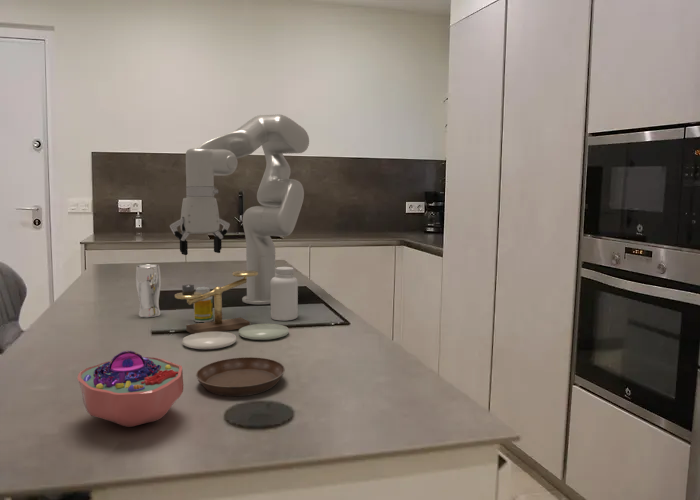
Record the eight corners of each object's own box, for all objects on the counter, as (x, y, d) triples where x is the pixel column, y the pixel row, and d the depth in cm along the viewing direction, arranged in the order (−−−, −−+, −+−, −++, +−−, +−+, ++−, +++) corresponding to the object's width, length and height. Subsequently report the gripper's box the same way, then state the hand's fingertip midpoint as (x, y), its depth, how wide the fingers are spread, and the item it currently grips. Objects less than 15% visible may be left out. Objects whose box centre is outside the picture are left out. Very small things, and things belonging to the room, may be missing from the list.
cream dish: (223, 334, 159) (223, 329, 159) (244, 345, 148) (244, 340, 148) (175, 341, 151) (175, 336, 151) (194, 354, 141) (193, 348, 141)
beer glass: (154, 318, 175) (152, 268, 173) (132, 317, 176) (130, 267, 175) (166, 313, 182) (164, 264, 180) (145, 312, 183) (143, 263, 181)
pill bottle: (302, 316, 179) (302, 267, 177) (289, 322, 172) (288, 270, 170) (280, 313, 182) (279, 265, 180) (265, 319, 175) (264, 268, 173)
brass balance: (251, 320, 174) (251, 269, 172) (262, 325, 168) (262, 273, 166) (172, 332, 160) (170, 277, 159) (181, 338, 155) (179, 281, 153)
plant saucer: (205, 406, 110) (204, 390, 110) (190, 376, 126) (189, 362, 126) (296, 393, 117) (296, 378, 117) (271, 366, 134) (271, 353, 133)
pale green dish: (274, 326, 167) (274, 321, 167) (297, 336, 157) (297, 331, 157) (230, 333, 160) (230, 327, 160) (252, 344, 149) (252, 339, 149)
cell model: (84, 452, 91) (80, 381, 90) (76, 407, 109) (73, 347, 107) (196, 431, 99) (194, 365, 98) (171, 392, 117) (170, 335, 115)
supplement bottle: (192, 319, 174) (191, 287, 173) (210, 317, 177) (210, 285, 176) (196, 323, 170) (195, 290, 168) (215, 321, 172) (214, 288, 171)
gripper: (223, 192, 176) (224, 250, 178) (165, 192, 167) (166, 253, 169) (234, 193, 170) (234, 253, 172) (174, 193, 160) (175, 256, 162)
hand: (201, 253), depth 170 cm, fingers open, 9 cm apart
